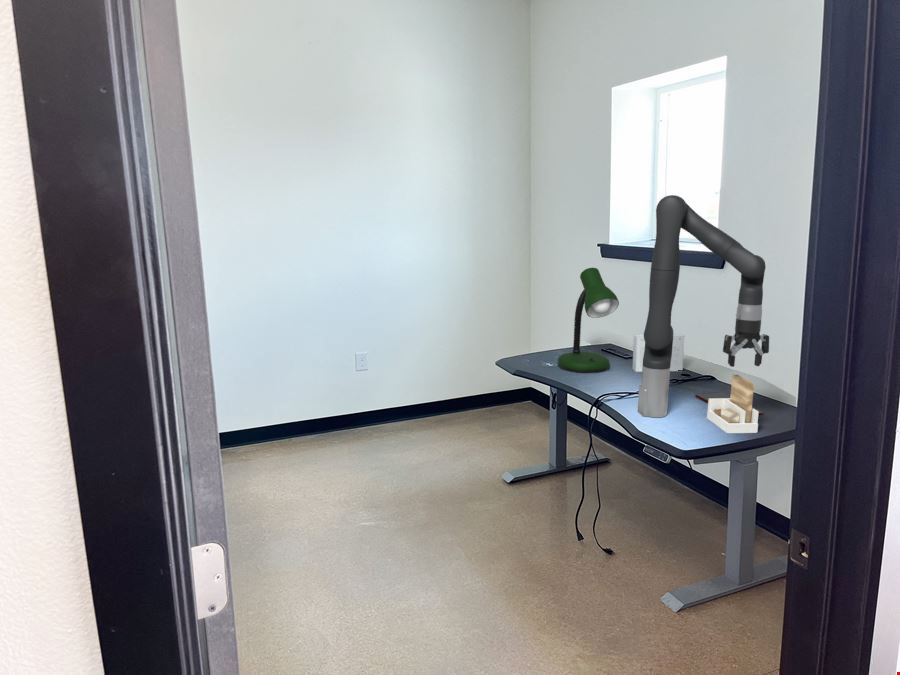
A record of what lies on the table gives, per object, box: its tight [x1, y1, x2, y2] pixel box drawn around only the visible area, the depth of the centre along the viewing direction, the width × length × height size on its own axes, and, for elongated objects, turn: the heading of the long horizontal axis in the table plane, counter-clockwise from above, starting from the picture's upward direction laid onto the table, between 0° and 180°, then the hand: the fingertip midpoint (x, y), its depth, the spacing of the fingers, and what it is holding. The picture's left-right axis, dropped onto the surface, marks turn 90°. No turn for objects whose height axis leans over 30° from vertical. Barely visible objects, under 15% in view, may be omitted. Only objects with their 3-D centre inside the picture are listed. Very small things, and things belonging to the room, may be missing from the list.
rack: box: [706, 398, 759, 434], centre depth 218 cm, size 10×15×7 cm, turn 3°
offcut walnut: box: [714, 409, 721, 417], centre depth 222 cm, size 3×3×4 cm
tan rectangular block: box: [730, 374, 755, 423], centre depth 217 cm, size 2×11×16 cm, turn 3°
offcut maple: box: [721, 408, 739, 422], centre depth 216 cm, size 3×5×3 cm
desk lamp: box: [557, 267, 620, 374], centre depth 286 cm, size 31×23×45 cm
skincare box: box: [632, 333, 685, 373], centre depth 287 cm, size 21×6×16 cm, turn 92°
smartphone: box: [694, 391, 765, 416], centre depth 240 cm, size 12×2×25 cm
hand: (744, 365), depth 215 cm, fingers open, 8 cm apart
